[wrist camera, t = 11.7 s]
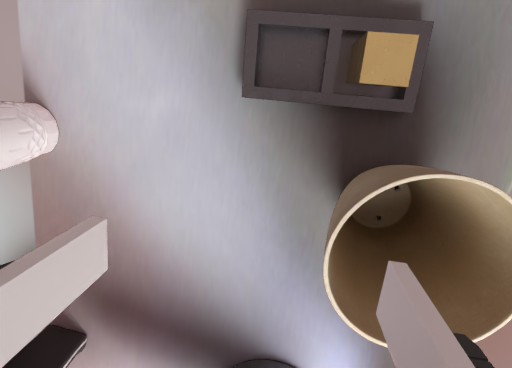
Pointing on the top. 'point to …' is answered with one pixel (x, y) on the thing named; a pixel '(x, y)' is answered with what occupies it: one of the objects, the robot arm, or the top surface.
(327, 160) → the top surface
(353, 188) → the plant pot
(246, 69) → the divided tray
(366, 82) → the brass block
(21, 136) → the white cup
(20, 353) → the battery charger
